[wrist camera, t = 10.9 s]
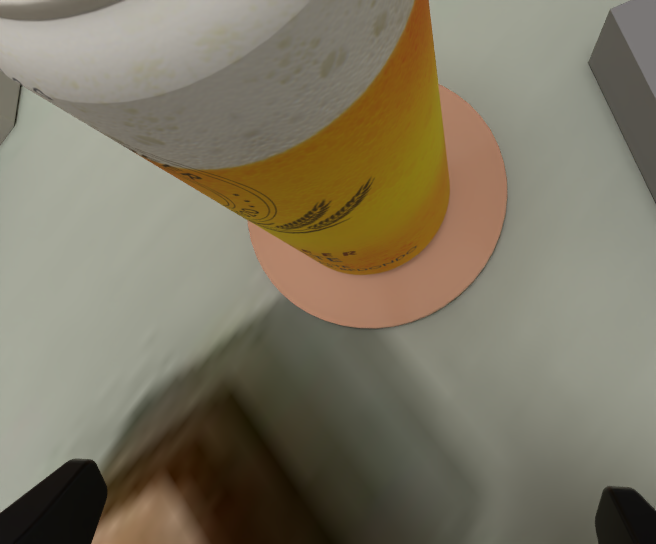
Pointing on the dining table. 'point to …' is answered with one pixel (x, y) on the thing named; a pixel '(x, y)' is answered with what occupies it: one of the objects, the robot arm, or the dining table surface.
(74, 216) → the dining table surface
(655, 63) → the ring
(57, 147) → the dining table surface
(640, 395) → the dining table surface
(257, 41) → the beer can
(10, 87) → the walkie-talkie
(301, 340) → the dining table surface
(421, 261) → the peach dome cap
